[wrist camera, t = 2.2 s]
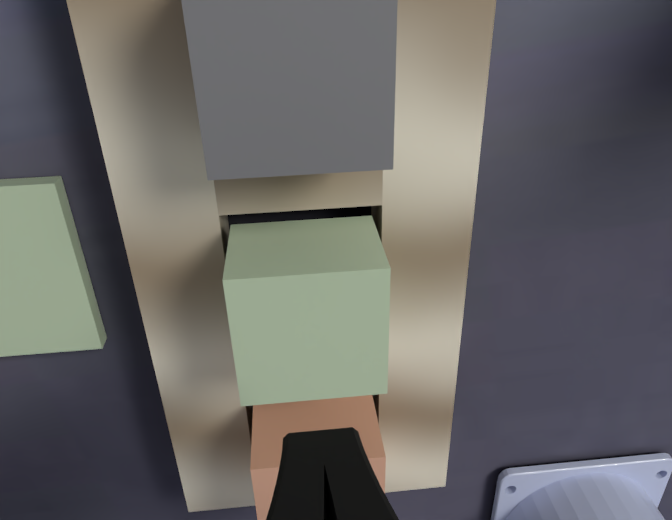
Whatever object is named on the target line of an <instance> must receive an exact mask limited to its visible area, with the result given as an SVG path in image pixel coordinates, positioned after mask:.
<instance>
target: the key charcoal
mask: <svg viewBox="0 0 672 520" xmlns="http://www.w3.org/2000/svg"><path fill="white" fill-rule="evenodd" d="M181 2H182V9H183V16H184V23H185V29H186V36H187V43H188V50H189V57H190V63H191V70H192V77H193V84H194V91H195V97H196V104H197V111H198V118H199V125H200V131H201V138H202V145H203V152H204V159H205V165H206V172H207V179H208V180H224V179H241V178H258V177H274V176H291V175H308V174H325V173H342V172H359V171H376V170H393V160H394V121H395V82H396V44H397V5H398V0H181Z"/></svg>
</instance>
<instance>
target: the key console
mask: <svg viewBox="0 0 672 520" xmlns="http://www.w3.org/2000/svg"><path fill="white" fill-rule="evenodd" d="M66 1H67V6H68V10H69V14H70V18H71V22H72V26H73V31H74V35H75V39H76V43H77V47H78V52H79V56H80V60H81V64H82V68H83V72H84V77H85V81H86V85H87V89H88V93H89V98H90V102H91V106H92V110H93V114H94V119H95V123H96V127H97V131H98V135H99V139H100V144H101V148H102V152H103V156H104V160H105V165H106V169H107V173H108V177H109V181H110V185H111V190H112V194H113V198H114V202H115V206H116V211H117V215H118V219H119V223H120V227H121V231H122V236H123V240H124V244H125V248H126V252H127V257H128V261H129V265H130V269H131V273H132V278H133V282H134V286H135V290H136V294H137V298H138V303H139V307H140V311H141V315H142V319H143V324H144V328H145V332H146V336H147V340H148V344H149V349H150V353H151V357H152V361H153V365H154V370H155V374H156V378H157V382H158V386H159V390H160V395H161V399H162V403H163V407H164V411H165V416H166V420H167V424H168V428H169V432H170V437H171V441H172V445H173V449H174V453H175V457H176V462H177V466H178V470H179V474H180V478H181V483H182V487H183V491H184V495H185V499H186V503H187V508H188V512H195V511H205V510H215V509H225V508H235V507H245V506H255V499H254V492H253V485H252V478H251V471H250V465H251V442H252V418H253V405H252V406H241V403H240V397H239V390H238V383H237V376H236V369H235V363H234V356H233V349H232V342H231V335H230V329H229V322H228V315H227V308H226V301H225V295H224V288H223V281H222V280H223V273H224V266H225V260H226V253H227V246H228V239H229V233H230V230H229V222H228V215H236V214H252V213H268V212H283V211H299V210H315V209H331V208H346V207H362V206H371V215H372V218H373V220H374V223H375V226H376V229H377V232H378V234H379V237H380V240H381V243H382V245H383V248H384V251H385V254H386V257H387V259H388V262H389V265H390V268H391V275H390V314H389V353H388V391H387V394H377V395H372V396H373V401H374V405H375V410H376V414H377V419H378V423H379V428H380V433H381V437H382V442H383V446H384V451H385V456H386V468H385V492H395V491H405V490H415V489H424V488H434V487H444V486H445V484H446V474H447V465H448V455H449V446H450V436H451V427H452V417H453V408H454V398H455V388H456V379H457V369H458V360H459V350H460V341H461V331H462V322H463V312H464V303H465V293H466V283H467V274H468V264H469V255H470V245H471V236H472V226H473V217H474V207H475V197H476V188H477V178H478V169H479V159H480V150H481V140H482V131H483V121H484V111H485V102H486V92H487V83H488V73H489V64H490V54H491V45H492V35H493V25H494V16H495V6H496V0H398V5H397V44H396V82H395V121H394V160H393V170H376V171H359V172H342V173H325V174H308V175H291V176H274V177H258V178H241V179H224V180H208V179H207V172H206V165H205V159H204V152H203V145H202V138H201V131H200V125H199V118H198V111H197V104H196V97H195V91H194V84H193V77H192V70H191V63H190V57H189V50H188V43H187V36H186V29H185V23H184V16H183V9H182V2H181V0H66Z"/></svg>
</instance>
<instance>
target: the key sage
mask: <svg viewBox="0 0 672 520" xmlns="http://www.w3.org/2000/svg"><path fill="white" fill-rule="evenodd" d="M390 275H391V268H390V265H389V262H388V259H387V257H386V254H385V251H384V248H383V245H382V243H381V240H380V237H379V234H378V232H377V229H376V226H375V223H374V220H373V218H372V215H371V216H356V217H341V218H325V219H310V220H294V221H279V222H264V223H248V224H233V225H231V226H230V233H229V239H228V246H227V253H226V260H225V266H224V273H223V280H222V281H223V288H224V295H225V301H226V308H227V315H228V322H229V329H230V335H231V342H232V349H233V356H234V363H235V369H236V376H237V383H238V390H239V397H240V403H241V406H252V405H263V404H274V403H286V402H297V401H308V400H320V399H331V398H343V397H354V396H365V395H377V394H387V391H388V353H389V314H390Z"/></svg>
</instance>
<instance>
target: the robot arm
mask: <svg viewBox="0 0 672 520" xmlns="http://www.w3.org/2000/svg"><path fill="white" fill-rule="evenodd" d="M671 472H672V458H671V456H670V455H669V454H667V453H656V454H646V455H636V456H626V457H616V458H605V459H595V460H585V461H575V462H565V463H555V464H545V465H535V466H524V467H514V468H508V469H505V470H503V471H502V472H501V473H500V474H499V476H498V480H497V486H496V492H495V498H494V504H493V509H492V515H491V520H665V519H664V518H663V516H662V515H661V513H660V512H659V510H658V509H657V508H658V505H659V502H660V500H661V497H662V495H663V492H664V490H665V487H666V485H667V482H668V480H669V477H670V474H671ZM266 520H399V519H398V517H397V516H396V514H395V512H394V510H393V508H392V507H391V505H390V503H389V501H388V499H387V497H386V495H385V493H384V492H383V490H382V488H381V486H380V483H379V481H378V479H377V477H376V475H375V473H374V471H373V469H372V467H371V464H370V462H369V460H368V457H367V455H366V452H365V450H364V447H363V445H362V442H361V439H360V436H359V432H358V431H357V430H356V429H354V428H353V427H349V428H338V429H327V430H316V431H305V432H295V433H288V434H287V435H286V436H285V437H284V438H283V444H282V454H281V461H280V466H279V472H278V476H277V481H276V485H275V489H274V493H273V497H272V501H271V504H270V508H269V511H268V514H267V518H266Z"/></svg>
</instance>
